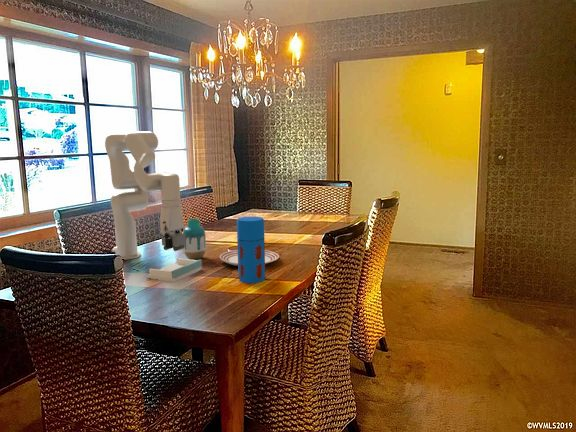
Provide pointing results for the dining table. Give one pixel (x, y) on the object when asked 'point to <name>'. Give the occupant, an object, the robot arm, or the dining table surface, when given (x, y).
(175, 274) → the loading dock
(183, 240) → the lidded gray box
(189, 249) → the vase
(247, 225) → the thermos
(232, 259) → the dinner plate
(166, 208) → the robot arm
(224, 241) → the dining table surface
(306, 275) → the dining table surface
